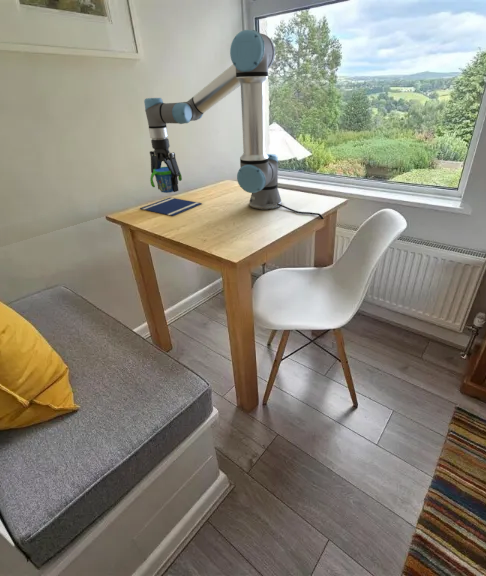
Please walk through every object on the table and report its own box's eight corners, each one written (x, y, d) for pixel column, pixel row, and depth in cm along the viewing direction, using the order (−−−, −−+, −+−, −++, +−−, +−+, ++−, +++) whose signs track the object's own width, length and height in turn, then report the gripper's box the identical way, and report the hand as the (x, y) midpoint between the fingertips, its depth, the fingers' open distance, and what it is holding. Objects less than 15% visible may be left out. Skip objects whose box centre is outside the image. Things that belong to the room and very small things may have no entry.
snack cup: (157, 196, 146) (153, 173, 141) (148, 192, 153) (143, 169, 148) (188, 190, 155) (185, 167, 149) (178, 186, 162) (174, 164, 156)
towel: (201, 204, 160) (201, 203, 160) (172, 216, 146) (172, 215, 145) (170, 198, 170) (169, 197, 170) (140, 209, 156) (139, 208, 156)
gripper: (183, 138, 139) (190, 190, 151) (149, 136, 150) (158, 185, 161) (171, 140, 134) (179, 194, 146) (136, 138, 144) (146, 189, 156)
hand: (168, 189), depth 154 cm, fingers closed on snack cup, 9 cm apart
